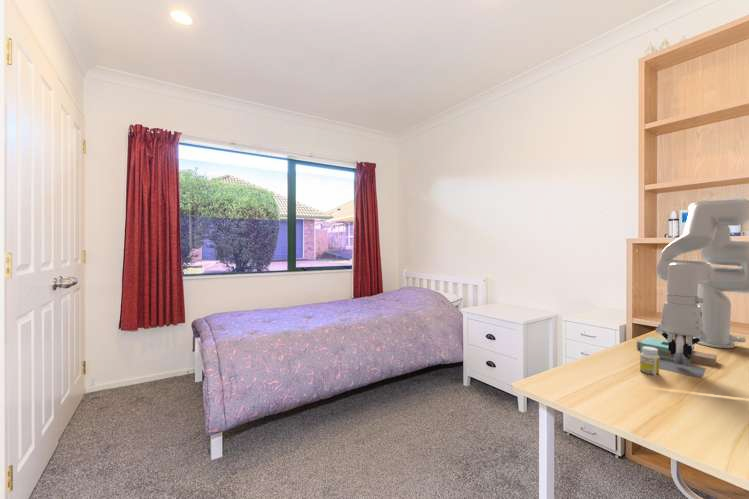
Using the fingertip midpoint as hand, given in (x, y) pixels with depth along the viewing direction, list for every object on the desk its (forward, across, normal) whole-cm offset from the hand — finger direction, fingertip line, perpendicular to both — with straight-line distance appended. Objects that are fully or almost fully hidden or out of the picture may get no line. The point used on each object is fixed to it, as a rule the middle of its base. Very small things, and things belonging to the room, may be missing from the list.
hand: (679, 354), depth 114 cm
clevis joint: (+5, +3, -13) cm, 14 cm away
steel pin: (+3, 0, 0) cm, 3 cm away
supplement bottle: (+5, +6, +13) cm, 15 cm away
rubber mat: (+5, 0, 0) cm, 5 cm away
